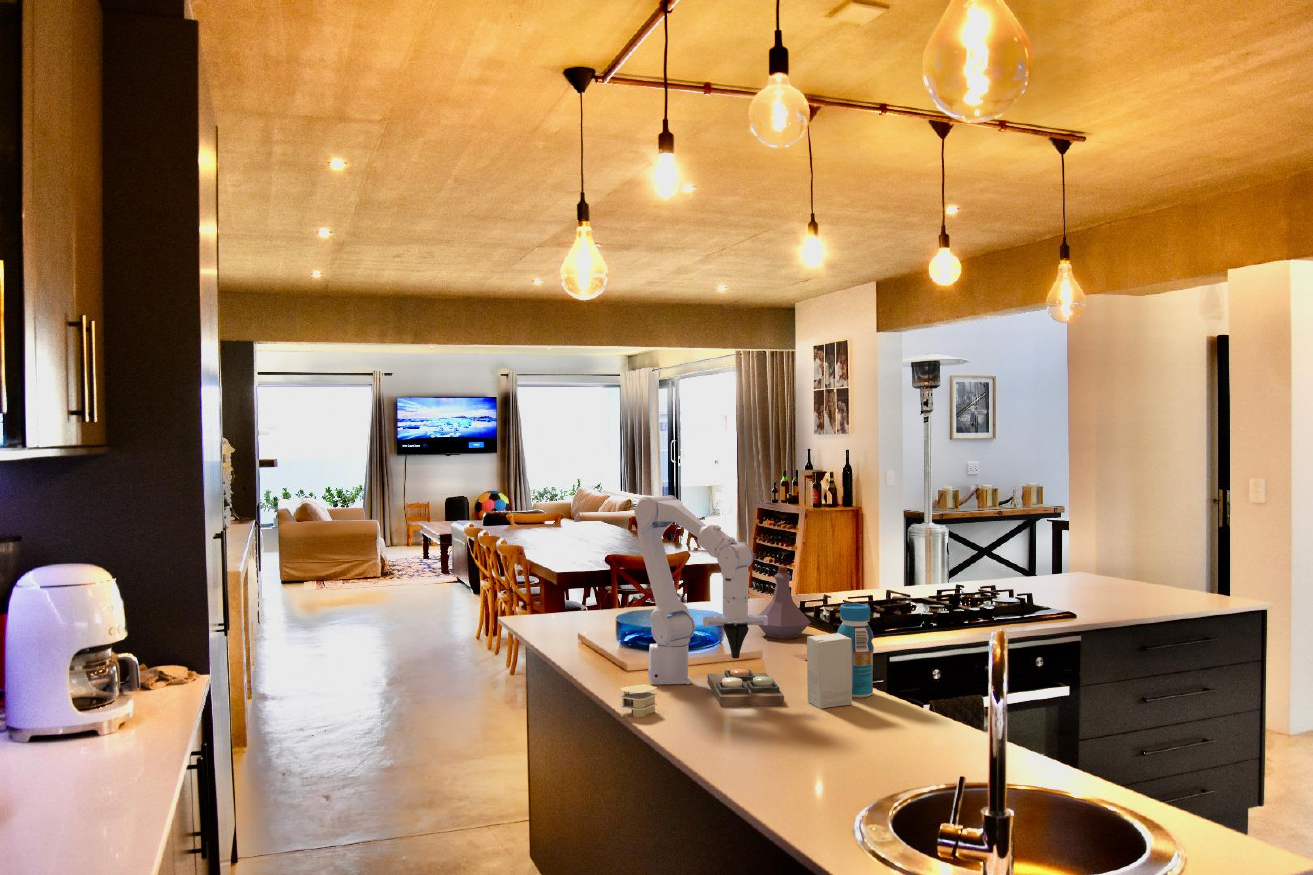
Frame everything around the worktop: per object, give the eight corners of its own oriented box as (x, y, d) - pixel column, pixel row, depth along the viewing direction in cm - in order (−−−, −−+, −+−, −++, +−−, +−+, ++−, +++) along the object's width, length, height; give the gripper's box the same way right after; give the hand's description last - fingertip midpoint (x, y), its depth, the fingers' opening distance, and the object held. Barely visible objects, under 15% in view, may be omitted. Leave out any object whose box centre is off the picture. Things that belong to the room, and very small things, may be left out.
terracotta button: (731, 678, 227) (731, 673, 227) (728, 674, 231) (728, 668, 231) (750, 678, 227) (750, 673, 227) (747, 673, 232) (747, 668, 232)
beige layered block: (638, 705, 214) (639, 680, 214) (669, 713, 208) (669, 688, 208) (606, 715, 207) (606, 689, 207) (636, 724, 201) (637, 697, 201)
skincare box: (838, 698, 219) (839, 632, 219) (853, 705, 213) (853, 637, 213) (805, 702, 216) (805, 634, 216) (819, 709, 211) (819, 640, 210)
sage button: (754, 686, 217) (755, 681, 217) (751, 681, 222) (751, 676, 222) (774, 686, 218) (774, 681, 218) (770, 681, 222) (770, 676, 222)
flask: (822, 637, 284) (823, 568, 284) (779, 644, 275) (780, 572, 274) (784, 627, 297) (785, 561, 297) (742, 633, 288) (742, 565, 288)
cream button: (723, 688, 216) (723, 682, 216) (720, 682, 220) (720, 677, 220) (743, 687, 216) (743, 682, 216) (740, 682, 221) (740, 677, 221)
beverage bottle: (830, 695, 222) (831, 606, 222) (841, 686, 229) (842, 601, 229) (867, 700, 218) (868, 610, 218) (877, 691, 225) (878, 604, 225)
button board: (720, 705, 213) (720, 692, 213) (707, 682, 233) (707, 669, 233) (784, 704, 214) (784, 691, 214) (765, 681, 234) (765, 668, 234)
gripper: (706, 600, 217) (706, 662, 217) (770, 599, 218) (770, 660, 218) (701, 595, 224) (701, 654, 224) (764, 594, 225) (764, 653, 225)
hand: (735, 657), depth 222 cm, fingers closed
